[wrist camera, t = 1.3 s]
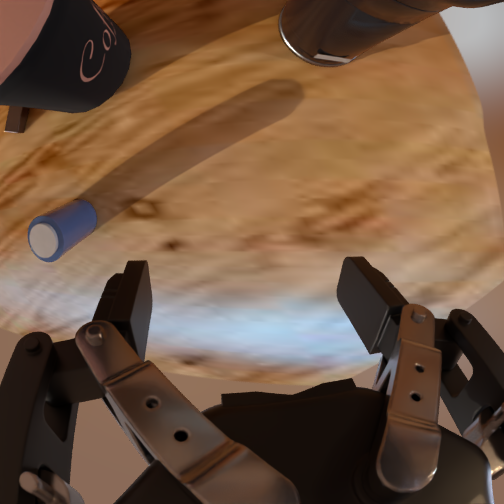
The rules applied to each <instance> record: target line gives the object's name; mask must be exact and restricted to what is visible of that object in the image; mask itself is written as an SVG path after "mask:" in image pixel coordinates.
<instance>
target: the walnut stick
mask: <svg viewBox="0 0 504 504" xmlns="http://www.w3.org/2000/svg"><path fill="white" fill-rule="evenodd" d="M28 111H29V107H19V106H10V107H9V112H8V116H7V121H6V126H5V132H12V133H24V130H25V125H26V120H27V115H28Z"/></svg>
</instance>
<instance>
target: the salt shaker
mask: <svg viewBox="0 0 504 504" xmlns="http://www.w3.org/2000/svg"><path fill="white" fill-rule="evenodd" d="M96 224H97V216H96V212H95V210H94V208H93V206H92V205H91V204H90V203H89V202H87V201H85V200H83V199H76V200H73V201H71V202H69V203H66V204H64V205H62V206H60V207H57V208H55V209H53V210H51V211H49V212H47V213H44V214H42V215H40V216H38V217H36V218H35V219H34V220H33V221H32V222H31V223H30V226H29V229H28V242H29V245H30V248H31V250H32V251H33V253H34V254H35V255H36V256H37V257H38V258H39V259H41V260H42V261H45V262H54V261H56V260H57V259H59V258H60V257H61V256H63V255H64V254H65V253H66V252H68V251H69V250H70V249H72V248H73V247H74V246H75V245H77V244H78V243H79V242H81V241H82V240H83V239H85V238H86V237H87V236H89V235H90V234H91V233H92V232H93V231H94V229H95V227H96Z"/></svg>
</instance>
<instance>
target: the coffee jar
mask: <svg viewBox="0 0 504 504" xmlns="http://www.w3.org/2000/svg"><path fill="white" fill-rule="evenodd" d="M130 59H131V49H130V43H129V40H128V38H127V37H126V35H125V34H124V32H123V31H122V30H121V29H120V28H119V26H118V25H117V24H116V23H115V22H114V21H113V20H112V19H111V18H110V17H109V16H108V15H107V14H106V13H105V12H104V11H103V10H102V9H101V8H100V7H99V6H98V5H97V4H96V3H95V2H94V1H93V0H0V105H8V106H19V107H29V108H38V109H46V110H54V111H61V112H68V113H79V112H86V111H89V110H91V109H93V108H96V107H98V106H100V105H101V104H102V103H104V102H105V101H106V100H108V99H109V98H110V97H111V96H113V94H114V93H115V92H116V90H117V89H118V88H119V87H120V85H121V84H122V83H123V81H124V78H125V76H126V74H127V72H128V70H129V65H130Z"/></svg>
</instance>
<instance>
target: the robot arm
mask: <svg viewBox="0 0 504 504" xmlns="http://www.w3.org/2000/svg"><path fill="white" fill-rule="evenodd" d="M500 2H504V0H288V1H287V3H286V5H285V6H284V8H283V9H282V11H281V14H280V17H279V24H278V25H279V32H280V35H281V37H282V40H283V41H284V43H285V44H286V46H287V47H288V48H289V49H290V50H291V51H292V52H293V53H294V54H295V55H296V56H297V57H299V58H300V59H302V60H304V61H306V62H308V63H310V64H313V65H316V66H321V67H338V66H342V65H344V64H347V63H348V62H350V61H352V60H353V59H354V58H356V57H357V56H358V55H360V54H362V53H364V52H365V51H367V50H369V49H370V48H372V47H374V46H376V45H377V44H379V43H381V42H383V41H385V40H386V39H388V38H390V37H392V36H394V35H395V34H397V33H399V32H401V31H403V30H405V29H407V28H409V27H411V26H413V25H415V24H417V23H419V22H420V21H422V20H424V19H426V18H428V17H430V16H432V15H434V14H437V13H439V12H441V11H443V10H445V9H447V8H449V7H452V6H456V7H463V8H478V7H484V6H489V5H493V4H496V3H500ZM337 299H338V301H339V303H340V305H341V307H342V308H343V310H344V312H345V313H346V315H347V316H348V318H349V320H350V321H351V323H352V325H353V327H354V328H355V330H356V332H357V333H358V335H359V337H360V338H361V340H362V342H363V343H364V345H365V347H366V349H367V350H368V352H369V354H375V353H380V352H381V353H382V354H383V355H382V357H381V359H380V362H379V365H378V369H377V373H376V377H375V380H374V384H373V387H372V389H368V388H361V387H356V385H355V383H354V381H353V379H352V378H350V379H344V380H339V381H333V382H327V383H322V384H320V385H317V386H315V387H312V388H310V389H307V390H305V391H302V392H300V393H297V394H294V395H286V394H275V393H265V392H245V393H229V394H221V396H222V398H221V400H222V404H219V405H215V406H213V407H210V408H208V409H206V410H204V411H202V412H200V411H199V410H198V409H197V408H196V407H195V406H194V405H192V403H191V402H190V401H189V400H188V399H187V398H186V397H185V396H184V395H183V394H182V393H181V392H180V391H179V390H178V389H177V388H176V387H175V386H174V385H173V384H172V383H171V382H170V381H169V380H168V379H167V378H166V376H165V375H163V373H162V372H161V371H160V370H159V369H158V368H157V367H156V366H155V364H154V363H152V362H151V361H149V360H147V361H145V362H144V359H145V352H146V345H147V338H148V331H149V325H150V319H151V312H152V291H151V284H150V276H149V268H148V262H147V261H146V260H141V261H128V262H127V265H126V267H125V270H124V273H116V274H114V275H113V276H112V277H111V278H110V279H109V280H108V281H107V283H106V286H105V288H104V291H103V293H102V296H101V298H100V301H99V303H98V306H97V309H96V311H95V314H94V316H93V319H92V322H89V323H86V324H85V325H83V326H82V327H81V328H80V329H79V330H78V331H77V333H76V335H75V338H73V339H70V340H65V341H60V342H55V343H53V342H52V340H51V337H50V336H49V335H48V334H46V333H44V332H32V333H29V334H27V335H25V336H24V337H23V338H21V339H20V341H19V342H18V343H17V345H16V347H15V350H14V352H13V354H12V357H11V359H10V362H9V364H8V367H7V369H6V372H5V374H4V377H3V379H2V382H1V385H0V504H85V503H84V500H83V498H82V496H81V495H80V493H79V492H77V490H75V489H74V488H73V487H71V486H70V471H71V459H72V449H73V440H74V432H75V425H76V418H77V411H78V405H79V402H84V401H89V400H94V399H99V398H101V399H102V401H103V402H104V404H105V405H106V407H107V408H108V410H109V411H110V413H111V414H112V416H113V417H114V418H115V420H116V421H117V423H118V424H119V426H120V427H121V429H122V430H123V431H124V433H125V434H126V436H127V437H128V438H129V440H130V441H131V443H132V444H133V446H134V447H135V449H136V450H137V451H138V453H139V454H140V455H141V457H142V458H143V459H144V460H145V462H146V463H147V464H148V465H149V466H148V467H147V468H146V470H145V471H144V472H143V473H142V474H141V475H140V476H139V477H138V478H137V479H136V480H135V482H134V483H133V484H132V485H131V486H130V487H129V488H128V489H127V490H126V491H125V492H124V493H123V494H122V495H121V496H120V497H119V498H118V499H117V500H116V502H115V503H114V504H495V503H494V499H493V493H492V480H495V479H497V478H498V477H499V476H501V475H502V474H503V473H504V353H503V351H502V350H501V349H500V347H499V346H498V345H497V344H496V342H495V341H494V340H493V339H492V337H491V336H490V335H489V334H488V333H487V331H486V330H485V329H484V328H483V327H482V325H481V324H480V323H479V322H478V321H477V320H476V318H475V317H474V316H473V315H472V314H470V313H468V312H467V311H465V310H462V309H454V310H452V311H451V312H450V314H449V316H448V319H437V318H434V315H433V314H432V313H431V311H429V310H428V309H427V308H425V307H423V306H421V305H418V304H409V303H408V302H407V300H406V299H405V298H404V297H403V296H402V295H401V293H400V292H399V291H398V290H397V289H396V288H395V287H394V285H393V284H392V283H391V282H389V280H388V278H387V277H386V276H385V275H384V274H383V273H382V272H380V271H379V270H377V269H375V268H374V267H372V266H371V265H370V263H369V262H368V261H367V260H366V259H365V258H364V257H362V256H360V257H346V258H345V259H344V261H343V265H342V269H341V274H340V278H339V282H338V286H337ZM463 353H464V355H465V356H466V357H467V359H468V360H469V362H470V363H471V365H472V367H473V375H472V377H471V378H470V380H469V381H468V380H467V378H466V376H465V375H464V373H463V372H462V371H461V369H460V368H459V366H458V364H457V362H458V360H459V359H460V357H461V355H462V354H463ZM440 396H441V398H442V400H443V402H444V403H445V405H446V407H447V409H448V411H449V413H450V414H451V416H452V418H453V420H454V422H455V424H456V426H457V428H458V429H459V431H460V433H461V435H462V437H461V436H459V435H457V434H455V433H453V432H451V431H449V430H448V429H446V428H444V427H442V426H440V425H438V414H439V403H440Z"/></svg>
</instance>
